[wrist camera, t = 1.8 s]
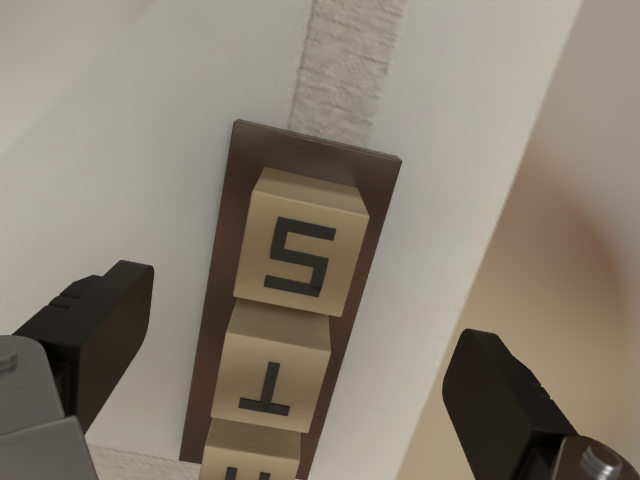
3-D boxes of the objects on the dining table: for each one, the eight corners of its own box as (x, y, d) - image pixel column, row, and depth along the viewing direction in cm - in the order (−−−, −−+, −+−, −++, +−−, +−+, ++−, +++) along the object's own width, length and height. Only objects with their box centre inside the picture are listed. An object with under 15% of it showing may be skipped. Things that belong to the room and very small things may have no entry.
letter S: (263, 166, 18) (252, 190, 14) (357, 187, 19) (370, 217, 15) (247, 254, 20) (231, 298, 16) (335, 272, 20) (341, 319, 16)
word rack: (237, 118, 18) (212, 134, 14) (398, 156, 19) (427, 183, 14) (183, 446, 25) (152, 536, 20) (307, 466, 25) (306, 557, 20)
